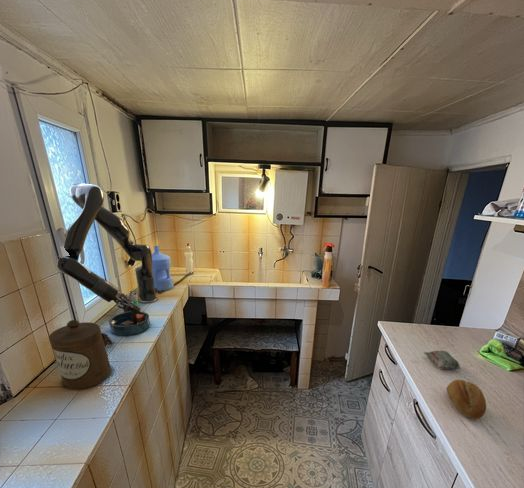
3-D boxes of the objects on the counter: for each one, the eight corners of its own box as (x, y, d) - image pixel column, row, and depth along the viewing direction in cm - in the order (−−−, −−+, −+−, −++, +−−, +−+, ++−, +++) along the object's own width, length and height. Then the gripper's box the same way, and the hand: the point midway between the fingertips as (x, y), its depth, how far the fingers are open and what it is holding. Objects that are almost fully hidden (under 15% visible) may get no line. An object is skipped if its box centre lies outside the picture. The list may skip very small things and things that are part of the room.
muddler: (134, 323, 138) (131, 302, 133) (141, 324, 137) (138, 303, 132) (129, 326, 134) (125, 305, 130) (136, 328, 133) (132, 306, 128)
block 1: (129, 327, 135) (127, 320, 133) (135, 329, 133) (133, 322, 132) (122, 331, 132) (120, 323, 130) (127, 333, 130) (126, 325, 128)
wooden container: (53, 384, 96) (33, 327, 87) (88, 361, 109) (73, 309, 100) (88, 393, 93) (71, 334, 84) (120, 368, 106) (108, 315, 97)
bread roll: (454, 419, 86) (463, 399, 83) (437, 389, 99) (444, 370, 96) (489, 425, 84) (500, 404, 81) (468, 393, 98) (475, 374, 94)
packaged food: (436, 372, 108) (440, 361, 106) (421, 356, 119) (425, 346, 117) (459, 373, 108) (463, 362, 106) (442, 357, 119) (446, 347, 117)
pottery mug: (119, 344, 123) (113, 334, 116) (104, 361, 118) (96, 352, 111) (96, 333, 125) (89, 323, 118) (80, 350, 119) (71, 341, 113)
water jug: (144, 290, 187) (137, 247, 176) (159, 283, 201) (153, 243, 189) (164, 292, 183) (159, 249, 172) (178, 285, 197) (173, 245, 185)
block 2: (139, 321, 142) (137, 313, 140) (145, 322, 141) (144, 314, 139) (133, 324, 138) (132, 316, 137) (140, 325, 137) (138, 318, 136)
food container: (135, 316, 149) (131, 298, 145) (123, 315, 149) (120, 298, 145) (144, 307, 160) (141, 290, 156) (133, 307, 160) (130, 290, 156)
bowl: (120, 320, 144) (118, 311, 142) (155, 320, 145) (153, 311, 143) (103, 336, 128) (101, 326, 126) (142, 336, 129) (141, 326, 127)
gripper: (108, 288, 118) (144, 311, 127) (111, 278, 129) (143, 300, 139) (97, 301, 118) (133, 323, 128) (100, 290, 130) (133, 311, 139)
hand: (138, 311), depth 133 cm, fingers closed on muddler, 2 cm apart
